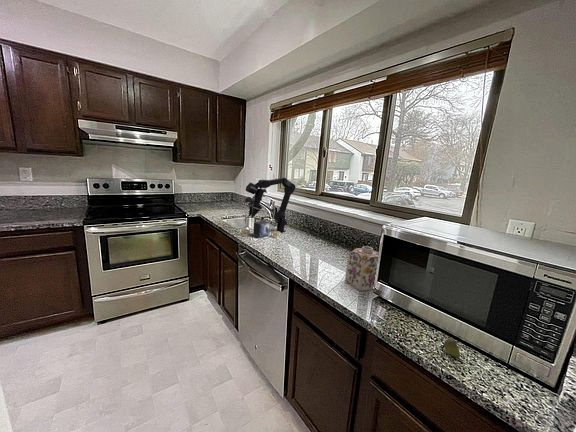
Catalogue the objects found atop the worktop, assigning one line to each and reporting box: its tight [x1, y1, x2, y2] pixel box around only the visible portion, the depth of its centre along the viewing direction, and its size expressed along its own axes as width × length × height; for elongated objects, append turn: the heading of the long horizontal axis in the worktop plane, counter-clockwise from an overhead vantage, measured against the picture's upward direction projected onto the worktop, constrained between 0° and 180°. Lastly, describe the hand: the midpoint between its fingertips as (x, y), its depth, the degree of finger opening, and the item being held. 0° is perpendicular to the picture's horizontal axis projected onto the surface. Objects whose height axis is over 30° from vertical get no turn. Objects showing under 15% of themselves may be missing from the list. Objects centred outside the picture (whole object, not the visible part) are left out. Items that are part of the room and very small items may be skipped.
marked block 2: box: [272, 230, 281, 239], centre depth 178 cm, size 4×4×4 cm
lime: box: [443, 337, 461, 359], centre depth 72 cm, size 4×5×5 cm
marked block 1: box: [241, 228, 251, 237], centre depth 176 cm, size 4×4×4 cm
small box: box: [252, 220, 271, 239], centre depth 177 cm, size 11×6×10 cm, turn 143°
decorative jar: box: [344, 245, 379, 292], centre depth 112 cm, size 12×12×18 cm
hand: (250, 216), depth 175 cm, fingers open, 9 cm apart
